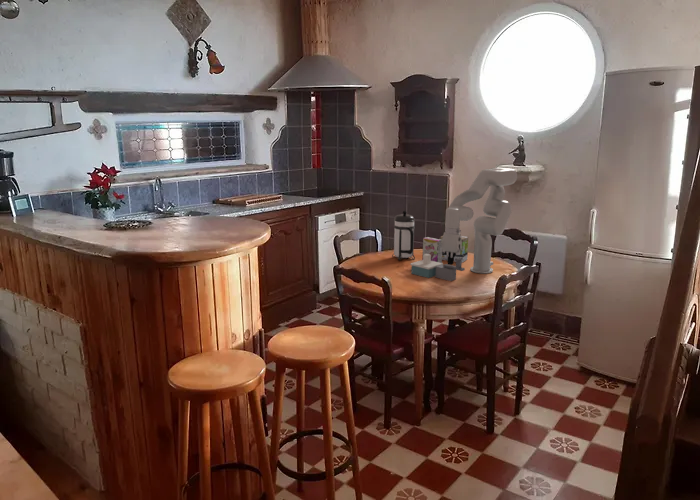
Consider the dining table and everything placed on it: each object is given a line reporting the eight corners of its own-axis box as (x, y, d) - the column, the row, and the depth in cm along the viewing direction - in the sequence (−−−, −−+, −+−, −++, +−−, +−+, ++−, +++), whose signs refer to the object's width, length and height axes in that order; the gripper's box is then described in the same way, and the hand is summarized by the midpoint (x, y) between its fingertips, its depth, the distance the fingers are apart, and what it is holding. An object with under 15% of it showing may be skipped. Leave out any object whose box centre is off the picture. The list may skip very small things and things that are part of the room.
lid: (424, 260, 316) (424, 250, 315) (443, 265, 307) (443, 254, 306) (410, 265, 307) (410, 254, 306) (429, 269, 298) (429, 258, 297)
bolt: (447, 265, 301) (447, 254, 299) (465, 269, 292) (466, 258, 291) (441, 267, 297) (442, 255, 296) (460, 271, 289) (461, 259, 287)
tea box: (467, 259, 339) (469, 236, 336) (461, 263, 331) (463, 239, 327) (445, 256, 347) (446, 233, 343) (438, 259, 339) (439, 236, 335)
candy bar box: (421, 264, 327) (422, 238, 323) (426, 263, 330) (427, 236, 327) (437, 268, 320) (438, 240, 316) (442, 266, 323) (443, 239, 319)
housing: (424, 269, 317) (424, 259, 315) (459, 277, 300) (460, 267, 299) (411, 273, 308) (411, 263, 307) (446, 282, 292) (447, 271, 291)
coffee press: (386, 259, 339) (387, 211, 332) (398, 254, 352) (399, 208, 345) (411, 263, 330) (413, 214, 323) (422, 257, 343) (424, 210, 336)
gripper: (468, 231, 289) (466, 265, 293) (444, 227, 299) (442, 260, 303) (460, 233, 284) (458, 268, 288) (436, 229, 294) (435, 262, 298)
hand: (450, 264), depth 296 cm, fingers closed
